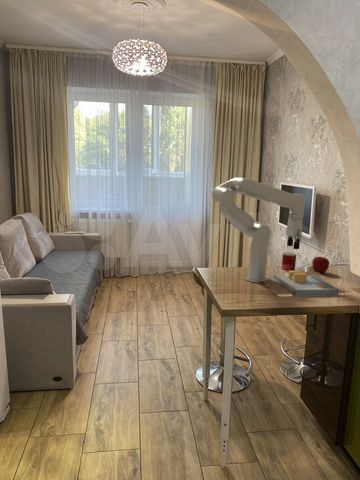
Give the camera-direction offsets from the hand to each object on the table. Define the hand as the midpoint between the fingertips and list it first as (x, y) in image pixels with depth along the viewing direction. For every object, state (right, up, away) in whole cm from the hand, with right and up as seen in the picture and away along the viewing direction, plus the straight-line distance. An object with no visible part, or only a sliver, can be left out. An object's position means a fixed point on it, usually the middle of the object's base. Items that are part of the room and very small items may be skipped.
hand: (293, 247), depth 205 cm
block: (+1, -18, -5) cm, 19 cm away
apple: (+21, -16, +15) cm, 30 cm away
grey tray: (+2, -21, -12) cm, 24 cm away
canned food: (+2, -15, +17) cm, 23 cm away
